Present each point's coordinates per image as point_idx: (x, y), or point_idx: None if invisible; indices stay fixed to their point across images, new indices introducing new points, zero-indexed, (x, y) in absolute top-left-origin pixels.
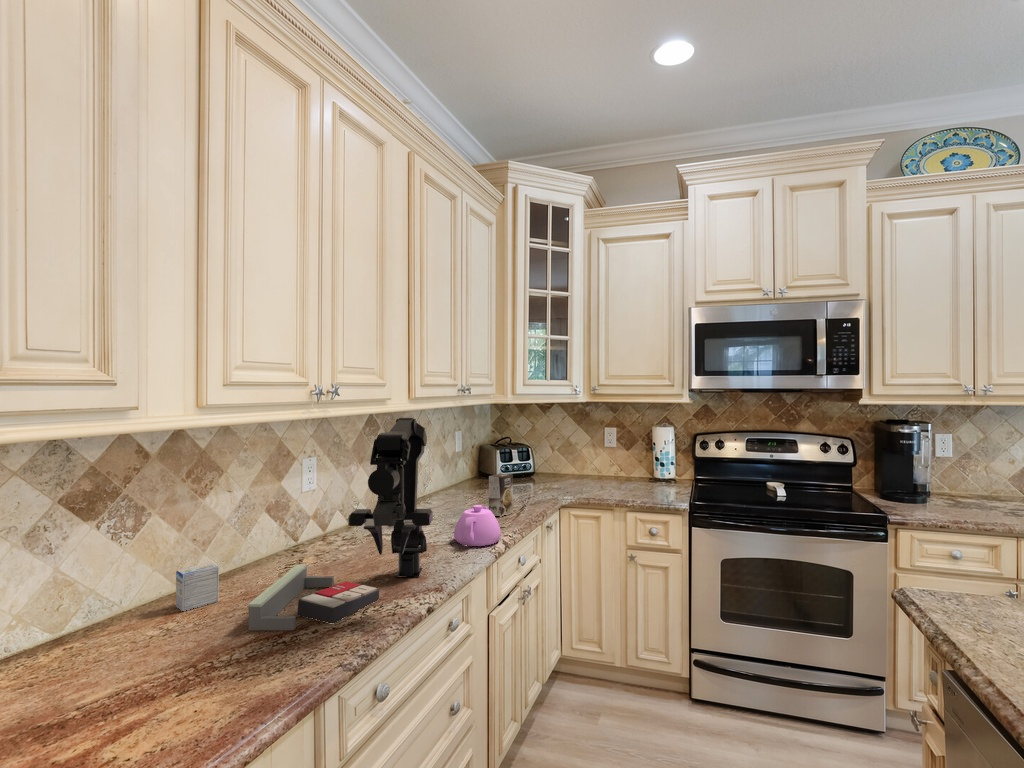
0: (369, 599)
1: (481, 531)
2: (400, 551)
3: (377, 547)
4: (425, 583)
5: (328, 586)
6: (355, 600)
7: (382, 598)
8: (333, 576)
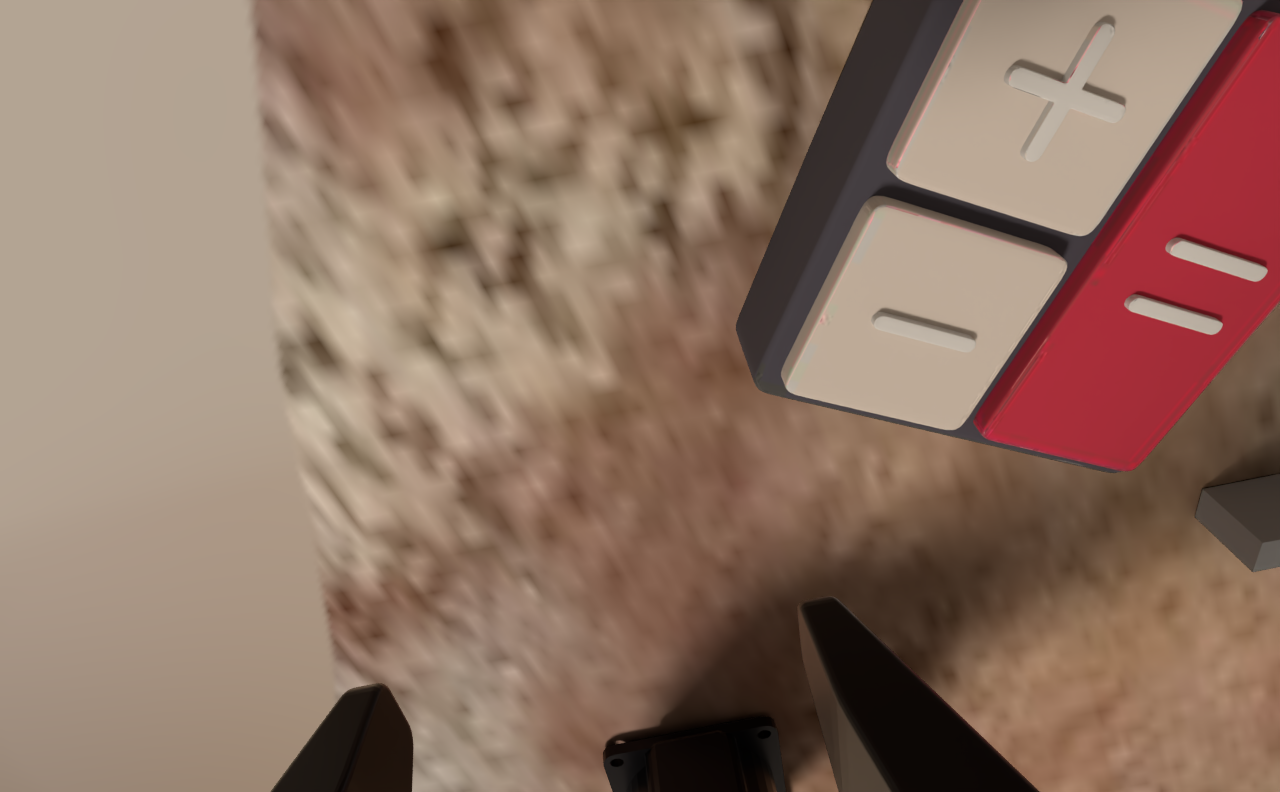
0: (799, 232)
1: None
2: (362, 732)
3: (935, 706)
4: (506, 683)
5: (1239, 489)
6: (919, 27)
7: (725, 386)
8: (1254, 567)
